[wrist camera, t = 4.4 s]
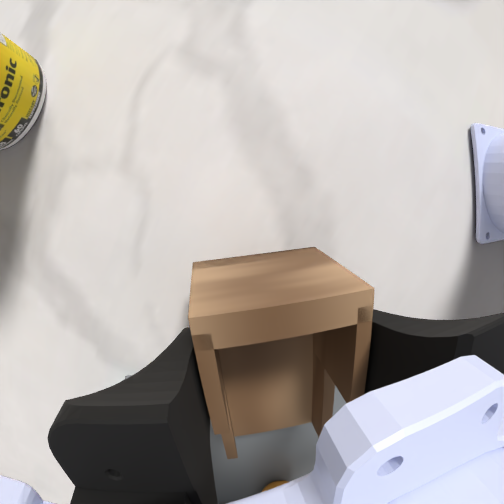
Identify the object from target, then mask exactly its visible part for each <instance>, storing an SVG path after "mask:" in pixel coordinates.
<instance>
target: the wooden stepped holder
mask: <svg viewBox="0 0 504 504" xmlns="http://www.w3.org/2000/svg"><path fill="white" fill-rule="evenodd" d="M373 304H374V288H373V287H372V286H370V285H369V284H368V283H366V282H365V281H363V280H362V279H360V278H359V277H358V276H356V275H355V274H353V273H352V272H350V271H349V270H348V269H346V268H345V267H343V266H342V265H340V264H339V263H337V262H336V261H335V260H333V259H332V258H330V257H329V256H327V255H326V254H324V253H323V252H321V251H320V250H318V249H317V248H315V247H310V248H302V249H294V250H286V251H279V252H271V253H263V254H255V255H247V256H240V257H232V258H224V259H216V260H208V261H200V262H193V268H192V278H191V289H190V301H189V314H188V320H189V325H190V330H191V335H192V340H193V345H194V350H195V355H196V359H197V364H198V369H199V373H200V377H201V382H202V386H203V391H204V395H205V399H206V403H207V407H208V411H209V415H210V419H211V423H212V427H213V431H214V435H216V434H221V436H222V440H223V444H224V448H225V451H226V455H227V459H235V458H238V455H237V449H236V443H235V437H236V436H243V435H249V434H255V433H261V432H267V431H272V430H278V429H283V428H287V427H292V426H297V425H301V424H306V423H310V422H312V424H313V427H314V429H315V431H316V433H317V435H318V437H319V436H320V434H321V432H322V429H323V427H324V424H325V423H326V422H327V421H328V420H329V419H330V418H332V416H333V405H334V393H335V386H336V387H337V389H338V390H339V392H340V394H341V395H342V397H343V398H344V400H345V402H346V403H348V402H350V401H352V400H354V399H356V398H358V397H360V396H362V395H364V390H365V383H366V376H367V368H368V360H369V351H370V341H371V330H372V318H373Z"/></svg>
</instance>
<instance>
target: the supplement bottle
mask: <svg viewBox="0 0 504 504" xmlns="http://www.w3.org/2000/svg"><path fill="white" fill-rule="evenodd" d="M45 94H46V77H45V73H44V70H43V68H42V67H41V65H40V64H39V63H38V62H37V60H36V59H34V58H33V57H32V56H31V55H29V54H28V53H27V52H25V51H24V50H23V49H21V48H20V47H19V46H17V45H16V44H15V43H13V42H12V41H11V40H9V39H8V38H7V37H5V36H4V35H3V34H1V33H0V150H2V149H6V148H8V147H10V146H12V145H14V144H15V143H17V142H18V141H19V140H21V139H22V138H23V137H24V136H25V135H26V133H27V132H28V131H29V130H30V128H31V127H32V126H33V124H34V123H35V121H36V119H37V117H38V115H39V113H40V111H41V108H42V106H43V103H44V99H45Z"/></svg>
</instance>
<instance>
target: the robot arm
mask: <svg viewBox="0 0 504 504" xmlns="http://www.w3.org/2000/svg"><path fill="white" fill-rule="evenodd" d="M471 135H472V143H473V153H474V165H475V181H476V240H477V242H478V243H481V244H485V243H490V242H495V241H500V240H504V129H501V128H497V127H493V126H488V125H484V124H479V123H474V124H472V125H471ZM48 443H49V447H50V449H51V451H52V453H53V455H54V457H55V458H56V460H57V461H58V463H59V464H60V466H61V467H62V469H63V470H64V471H65V473H66V474H67V476H68V477H69V478H70V480H71V481H72V482H73V484H74V485H75V486H76V487H75V490H74V493H73V496H72V500H71V503H70V504H218V501H217V495H216V488H215V481H214V473H213V466H212V457H211V448H210V415H209V411H208V407H207V403H206V399H205V395H204V391H203V386H202V382H201V377H200V373H199V369H198V364H197V359H196V355H195V350H194V345H193V340H192V335H191V330H190V328H184V329H183V330H182V332H181V333H180V334H179V335H178V336H177V337H176V339H175V340H174V341H173V342H172V343H171V344H170V345H169V346H168V347H167V348H166V349H165V350H164V351H163V352H162V353H161V354H160V355H159V356H158V357H157V358H156V359H155V360H154V361H152V362H151V363H150V364H149V365H147V366H146V367H145V368H143V369H142V370H140V371H139V372H137V373H136V374H134V375H132V376H131V377H129V378H127V379H125V380H123V381H122V382H120V383H118V384H116V385H113V386H111V387H109V388H106V389H104V390H101V391H98V392H96V393H93V394H89V395H85V396H82V397H78V398H74V399H70V400H66V401H65V402H64V404H63V406H62V407H61V409H60V411H59V413H58V415H57V417H56V419H55V421H54V422H53V424H52V426H51V428H50V431H49V434H48ZM0 504H56V503H51V502H47V501H43V500H42V498H41V497H40V495H39V494H38V493H37V492H36V490H34V489H33V488H32V487H31V486H30V485H28V484H27V483H25V482H22V481H19V480H15V479H12V478H8V477H5V476H2V475H0ZM226 504H504V313H500V314H496V315H491V316H486V317H480V318H473V319H463V320H428V319H418V318H410V317H405V316H399V315H394V314H390V313H386V312H382V311H378V310H374V309H373V318H372V330H371V341H370V351H369V360H368V368H367V376H366V383H365V390H364V395H362V396H360V397H358V398H356V399H354V400H352V401H350V402H348V403H346V404H345V405H344V406H343V407H342V408H341V409H340V410H339V411H338V412H337V413H336V414H335V415H334V416H333V417H332V418H330V419H329V420H328V421H327V422H326V423H325V424H324V427H323V429H322V432H321V434H320V436H319V439H318V441H317V444H316V460H315V465H314V469H313V471H312V472H310V473H309V474H307V475H304V476H302V477H300V478H297V479H295V480H292V481H290V482H288V483H285V484H282V485H280V486H277V487H275V488H272V489H269V490H267V491H264V492H261V493H258V494H255V495H252V496H249V497H246V498H243V499H240V500H236V501H233V502H230V503H226Z"/></svg>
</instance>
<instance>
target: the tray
mask: <svg viewBox="0 0 504 504" xmlns="http://www.w3.org/2000/svg"><path fill="white" fill-rule="evenodd" d="M129 377H131V376H126V377H125V379H127V378H129ZM345 404H346V402H345V400H344V398H343V397H342V395H341V394H340V392H339V390H338V389H337V387H336V386H335V393H334V405H333V416H334V415H335V414H336V413H337V412H338V411H339V410H340V409H341V408H342V407H343V406H344V405H345ZM333 416H332V417H333ZM318 439H319V437H318V435H317V433H316V431H315V429H314V427H313V424H312V422H310V423H306V424H301V425H297V426H292V427H287V428H283V429H278V430H272V431H267V432H261V433H255V434H249V435H243V436H236V437H235V443H236V449H237V455H238V458H235V459H227V455H226V451H225V448H224V444H223V440H222V436H221V434H216V435H214V431H213V427H212V423H211V419H210V448H211V457H212V466H213V473H214V481H215V488H216V495H217V501H218V504H226V503H230V502H233V501H236V500H240V499H243V498H246V497H249V496H252V495H255V494H258V493H261V492H262V490H263V489H264V488H265V487H266V486H267V485H268V484H270V483H272V482H275V481H289V482H290V481H292V480H295V479H297V478H300V477H302V476H304V475H307V474H309V473H310V472H312V471H313V469H314V465H315V460H316V444H317V441H318Z"/></svg>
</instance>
